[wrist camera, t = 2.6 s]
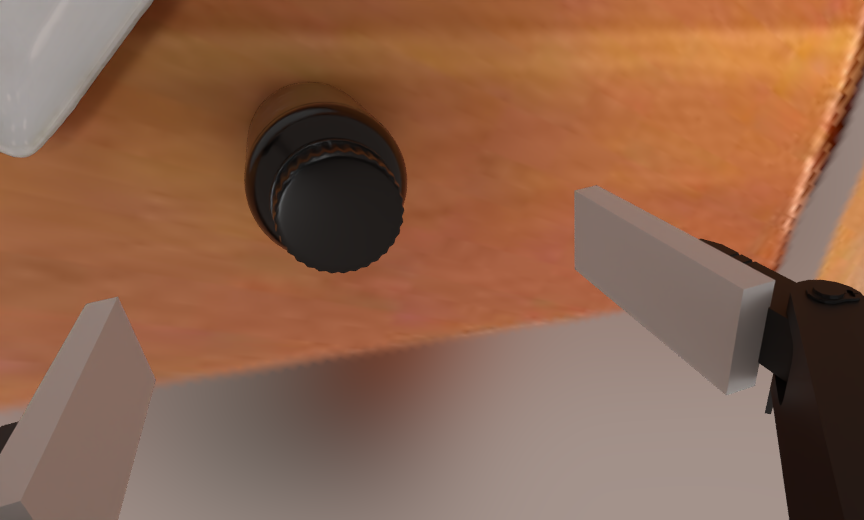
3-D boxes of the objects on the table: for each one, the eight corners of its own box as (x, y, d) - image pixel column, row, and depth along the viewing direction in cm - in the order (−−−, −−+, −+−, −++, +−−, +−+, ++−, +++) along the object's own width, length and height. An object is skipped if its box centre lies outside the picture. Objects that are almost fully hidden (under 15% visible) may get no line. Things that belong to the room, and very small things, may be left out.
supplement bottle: (395, 127, 31) (468, 192, 21) (328, 222, 32) (365, 328, 22) (291, 50, 28) (314, 80, 17) (221, 159, 29) (203, 248, 19)
